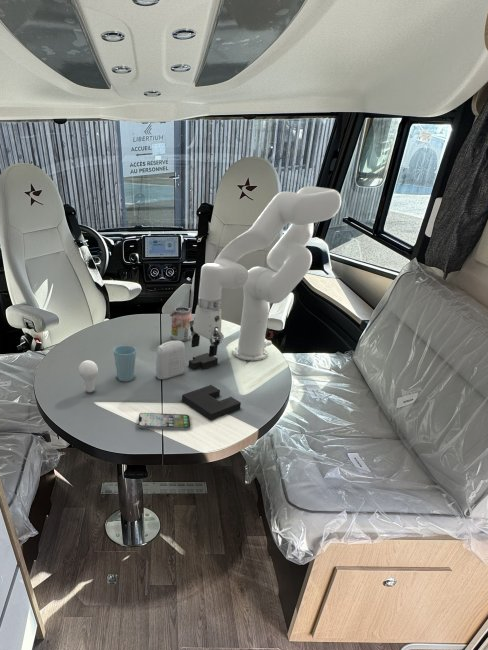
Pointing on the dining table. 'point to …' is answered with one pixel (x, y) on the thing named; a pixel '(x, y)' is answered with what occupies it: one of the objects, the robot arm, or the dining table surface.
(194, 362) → the tab pad
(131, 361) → the cup
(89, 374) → the lightbulb
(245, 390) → the dining table surface
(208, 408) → the base pad
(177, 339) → the beverage can
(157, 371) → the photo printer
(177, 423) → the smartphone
